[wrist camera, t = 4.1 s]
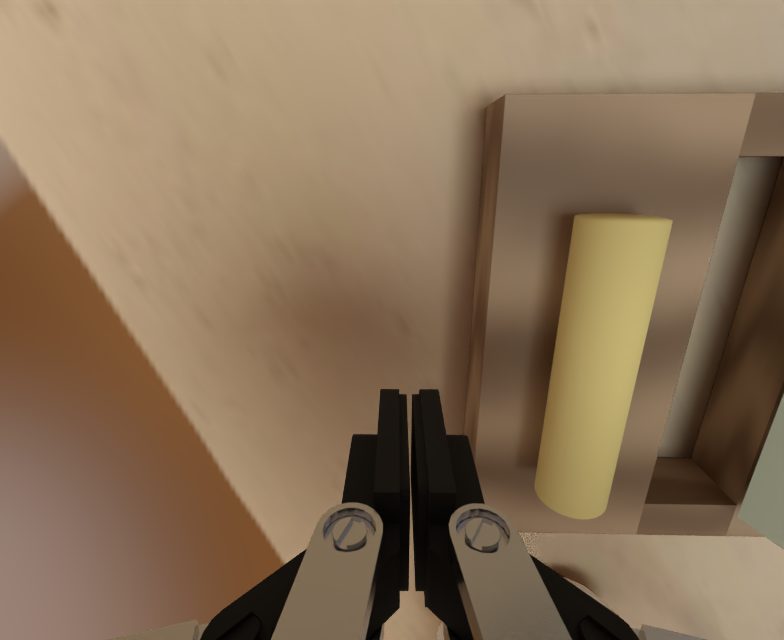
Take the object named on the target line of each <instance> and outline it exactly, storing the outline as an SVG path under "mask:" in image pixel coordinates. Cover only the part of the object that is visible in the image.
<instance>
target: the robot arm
mask: <svg viewBox="0 0 784 640" xmlns="http://www.w3.org/2000/svg"><path fill="white" fill-rule="evenodd" d="M411 494H412V518H413V542H414V565H415V588H416V591H424V596H425V607H428V608H429V609H430V610H431V611H432V612H433V613H434V614H435V615H436V616H437V617H438V618H439V619H440V620H441V621H442V626H443V635H444V639H445V640H706V639H702V638H698V637H693V636H689V635H685V634H681V633H677V632H672V631H668V630H664V629H660V628H655V627H651V626H647V625H643V624H642V627H641V630H638V629H634V628H631V627H630V626H629V625H628V624H627V623H626V622H625V621H624V620H622V619H621V618H620V617H619V616H618V615H617V614H615V613H614V612H612V611H611V610H610V609H608V608H607V607H605V606H604V605H602V604H601V603H599V602H598V601H597V600H595V599H594V598H592V597H591V596H589V595H588V594H586V593H585V592H584V591H582V590H581V589H579V588H578V587H576V586H575V585H574V584H572V583H571V582H569V581H568V580H566V579H565V578H563V577H562V576H561V575H559V574H558V573H556V572H555V571H553V570H552V569H550V568H549V567H548V566H546V565H545V564H543V563H542V562H540V561H539V560H537V559H536V558H535V557H533V556H532V555H530V554H529V552H528V550H527V548H526V546H525V544H524V542H523V540H522V538H521V536H520V534H519V532H518V530H517V528H516V526H515V525H514V523H513V522H512V520H511V519H510V518H509V517H508V516H507V515H506V514H505V513H503V512H502V511H501V510H499V509H497V508H495V507H493V506H490V505H486V504H485V502H484V498H483V494H482V490H481V487H480V483H479V479H478V475H477V471H476V467H475V463H474V459H473V455H472V451H471V447H470V443H469V439H468V436H467V435H446V430H445V425H444V419H443V413H442V407H441V402H440V396H439V391H438V389H420V390H419V394H412V429H411ZM409 534H410V473H409V448H408V422H407V396H406V394H399V389H381V391H380V405H379V420H378V434H377V435H374V434H353V436H352V442H351V448H350V454H349V461H348V467H347V473H346V479H345V486H344V492H343V498H342V504H340V505H337V506H335V507H333V508H331V509H329V510H328V511H327V512H326V513H325V514H324V515H322V517H321V518H320V520H319V522H318V523H317V525H316V528H315V530H314V533H313V535H312V538H311V540H310V543H309V545H308V548H307V549H306V550H304V551H303V552H302V553H300V554H299V555H297V556H296V557H295V558H293V559H292V560H291V561H289V562H288V563H286V564H285V565H284V566H282V567H281V568H280V569H278V570H277V571H275V572H274V573H273V574H271V575H270V576H269V577H267V578H266V579H265V580H263V581H262V582H260V583H259V584H258V585H256V586H255V587H253V588H252V589H251V590H249V591H248V592H247V593H245V594H244V595H242V596H241V597H240V598H238V599H237V600H236V601H234V602H233V603H231V604H230V605H229V606H227V607H226V608H224V609H223V610H222V611H221V612H220V613H219V614H218V615H216V616H215V617H214V618H213V619H212V620H211V622H210V623H207V624H202V625H198V624H197V620H193V621H189V622H184V623H179V624H175V625H171V626H166V627H162V628H157V629H153V630H148V631H144V632H139V633H135V634H130V635H126V636H121V637H117V638H113V639H108V640H383V636H384V623H385V622H386V621H387V620H388V619H389V618H390V617H391V616H392V615H393V614H394V613H395V612H396V611H397V610H398V609H399V608H400V591H408V589H409Z"/></svg>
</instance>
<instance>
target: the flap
mask: <svg viewBox="0 0 784 640" xmlns="http://www.w3.org/2000/svg"><path fill="white" fill-rule="evenodd" d="M737 518H738V519H740V520H741V521H743V522H744V523H746V524H747V525H749V526H750V527H752V528H753V529H755V530H756V531H757V532H759V533H760V534H762V535H763V536H765V537H766V538H768V539H769V540H771V541H772V542H774V543H775V544H777V545H778V546H780V547H781V548H782V549H784V394H783V397H782V399H781V402H780V405H779V407H778V410H777V413H776V415H775V418H774V421H773V423H772V426H771V428H770V431H769V434H768V436H767V439H766V442H765V444H764V447H763V450H762V452H761V455H760V458H759V460H758V463H757V466H756V468H755V471H754V473H753V476H752V479H751V481H750V484H749V487H748V489H747V492H746V495H745V497H744V500H743V503H742V505H741V508H740V510H739V513H738V516H737Z"/></svg>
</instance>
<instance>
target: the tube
mask: <svg viewBox="0 0 784 640" xmlns="http://www.w3.org/2000/svg"><path fill="white" fill-rule="evenodd" d="M672 222H673V220H671V219H668V218H663V217H657V216H649V215H638V214H621V213H586V214H578V215H575V216H574V222H573V229H572V236H571V243H570V249H569V256H568V263H567V269H566V276H565V283H564V290H563V296H562V303H561V310H560V316H559V323H558V330H557V336H556V343H555V350H554V357H553V363H552V370H551V377H550V383H549V390H548V397H547V404H546V410H545V417H544V424H543V430H542V437H541V444H540V450H539V457H538V464H537V471H536V477H535V491H536V493H537V495H538V497H539V498H540V500H541V501H542V502H543V503H544V504H545V505H546V506H548V507H549V508H550V509H552V510H553V511H555V512H557V513H559V514H561V515H564V516H567V517H570V518H574V519H583V520H584V519H593V518H596V517H598V516H600V515H602V514H603V513H604V512H605V510H606V507H607V503H608V499H609V495H610V490H611V486H612V482H613V477H614V473H615V469H616V464H617V460H618V456H619V451H620V447H621V443H622V439H623V434H624V430H625V426H626V421H627V417H628V413H629V408H630V404H631V400H632V395H633V391H634V387H635V382H636V378H637V374H638V369H639V365H640V361H641V356H642V352H643V348H644V343H645V339H646V335H647V330H648V326H649V322H650V318H651V313H652V309H653V305H654V300H655V296H656V292H657V287H658V283H659V279H660V274H661V270H662V266H663V261H664V257H665V253H666V248H667V244H668V240H669V235H670V231H671V227H672Z"/></svg>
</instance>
